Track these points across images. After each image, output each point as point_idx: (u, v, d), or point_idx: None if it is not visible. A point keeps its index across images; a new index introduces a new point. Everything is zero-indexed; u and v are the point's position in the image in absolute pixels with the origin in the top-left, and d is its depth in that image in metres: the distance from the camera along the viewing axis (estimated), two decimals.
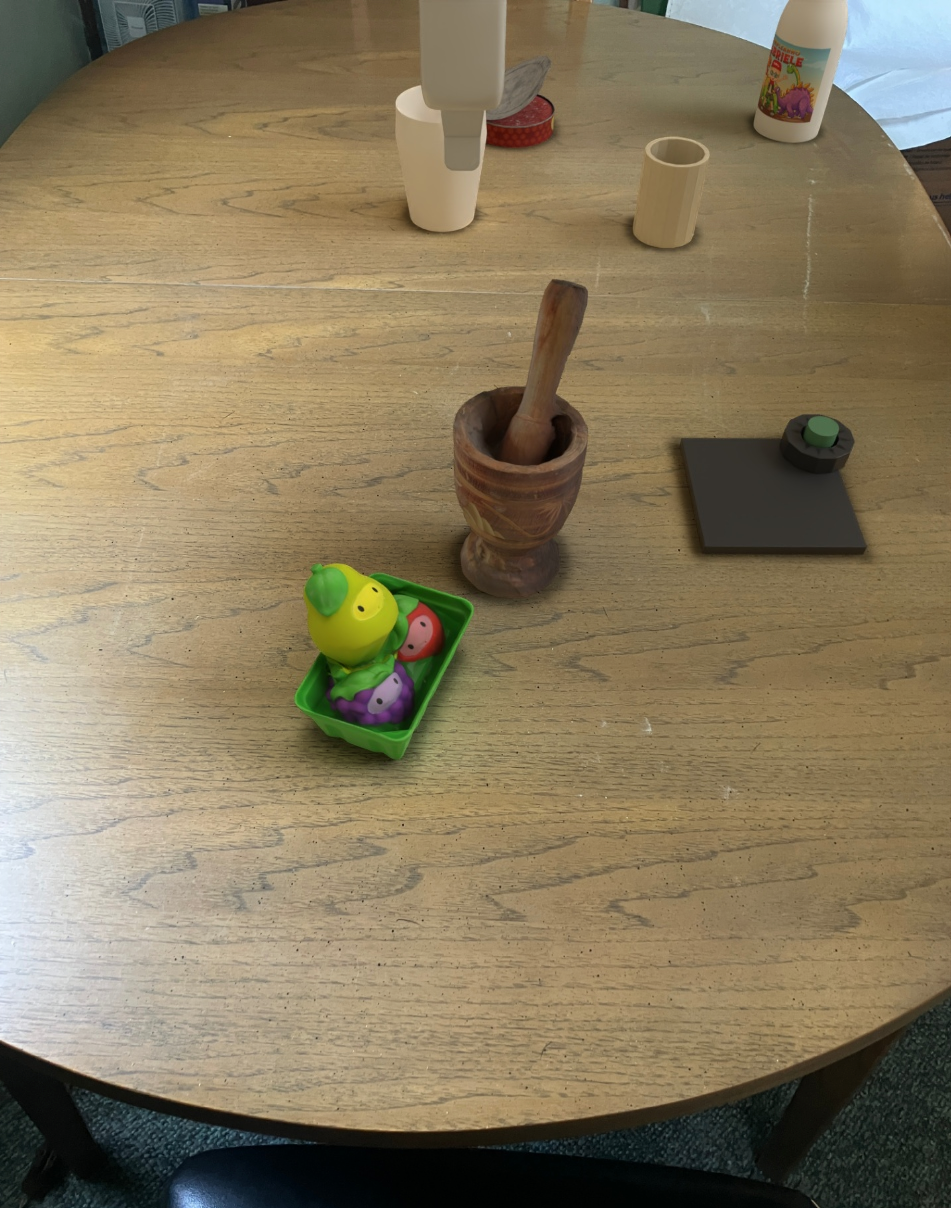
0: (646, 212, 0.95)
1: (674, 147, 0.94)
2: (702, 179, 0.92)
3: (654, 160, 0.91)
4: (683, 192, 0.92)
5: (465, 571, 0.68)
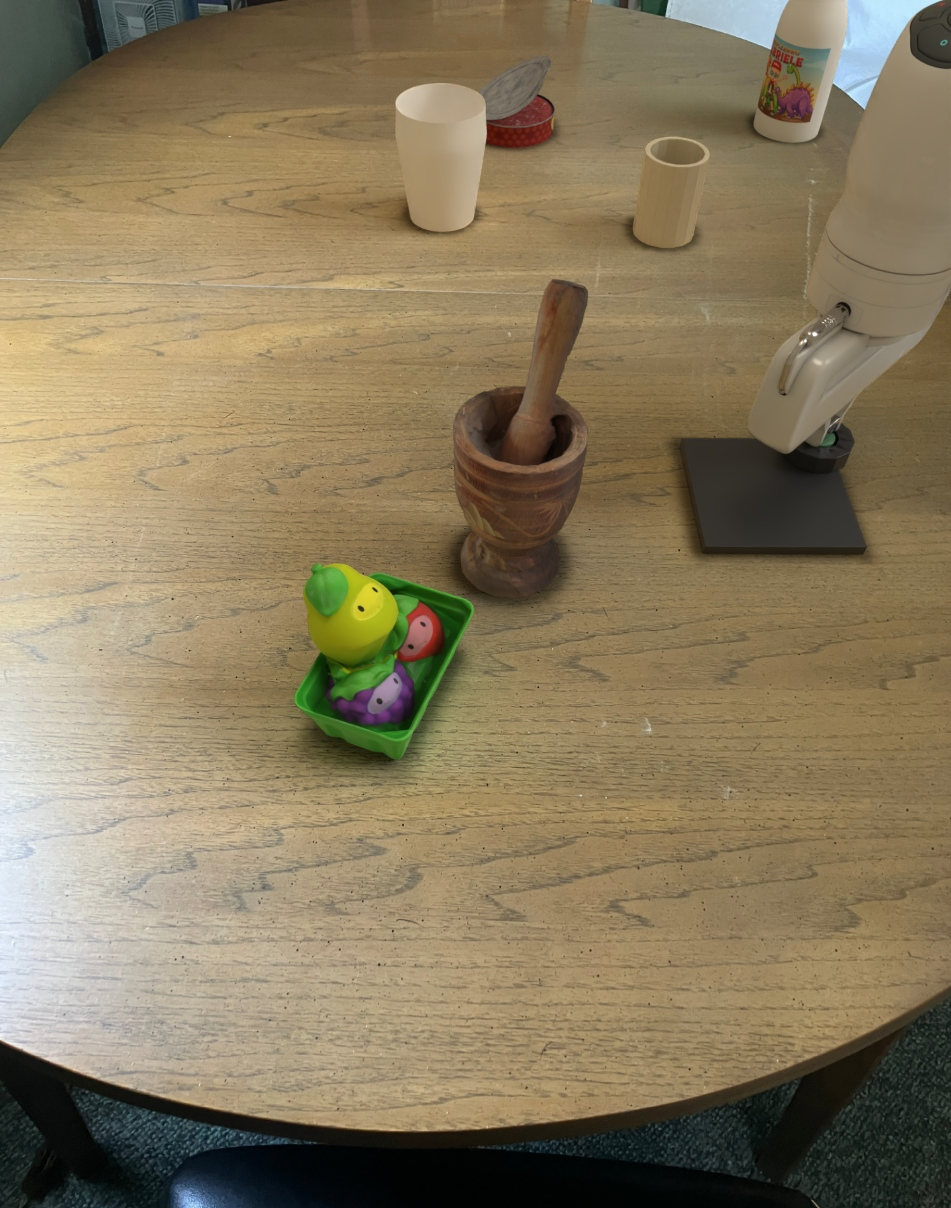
0: (646, 212, 0.95)
1: (674, 147, 0.94)
2: (702, 179, 0.92)
3: (654, 160, 0.91)
4: (683, 192, 0.92)
5: (465, 571, 0.68)
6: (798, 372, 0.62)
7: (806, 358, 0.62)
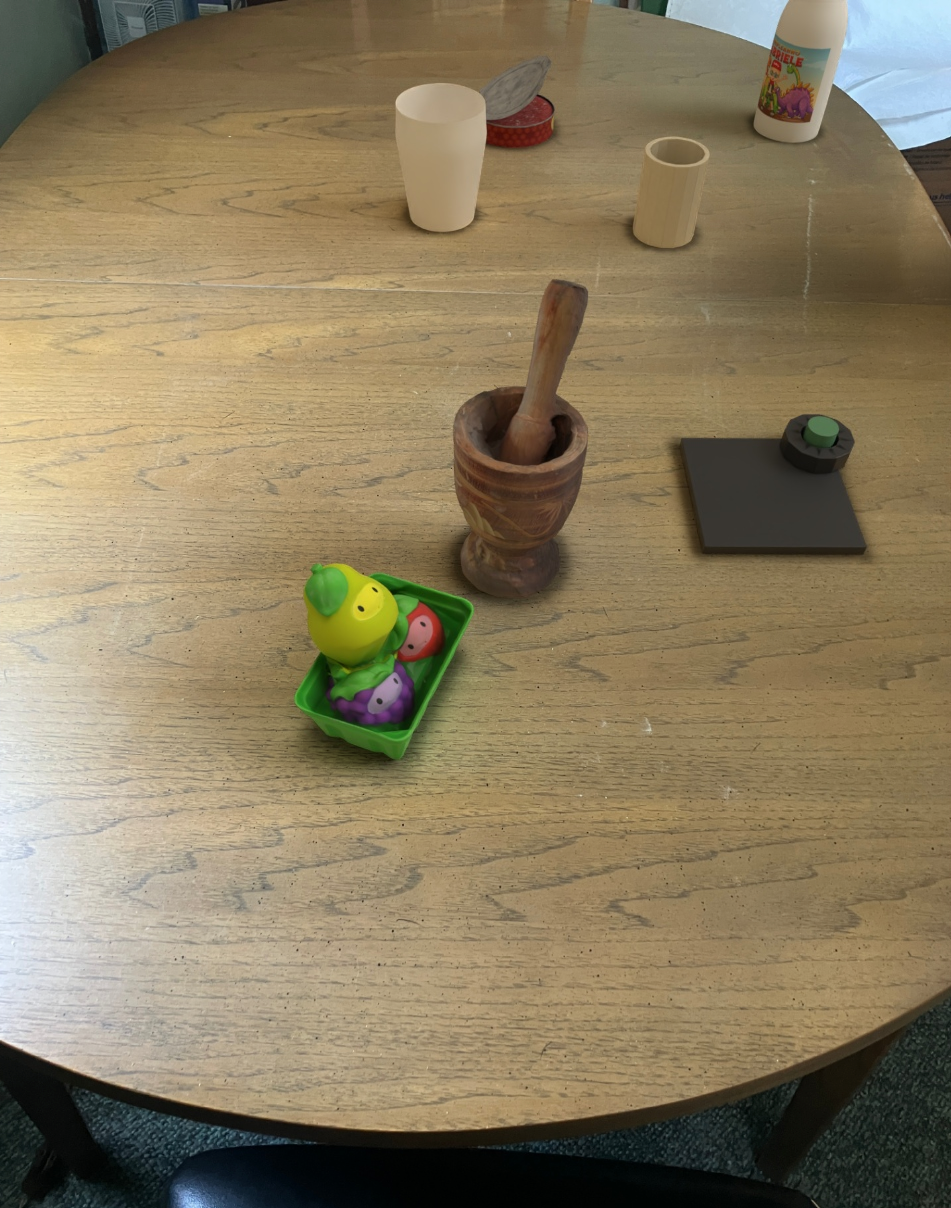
0: (646, 212, 0.95)
1: (674, 147, 0.94)
2: (702, 179, 0.92)
3: (654, 160, 0.91)
4: (683, 192, 0.92)
5: (465, 571, 0.68)
6: None
7: None
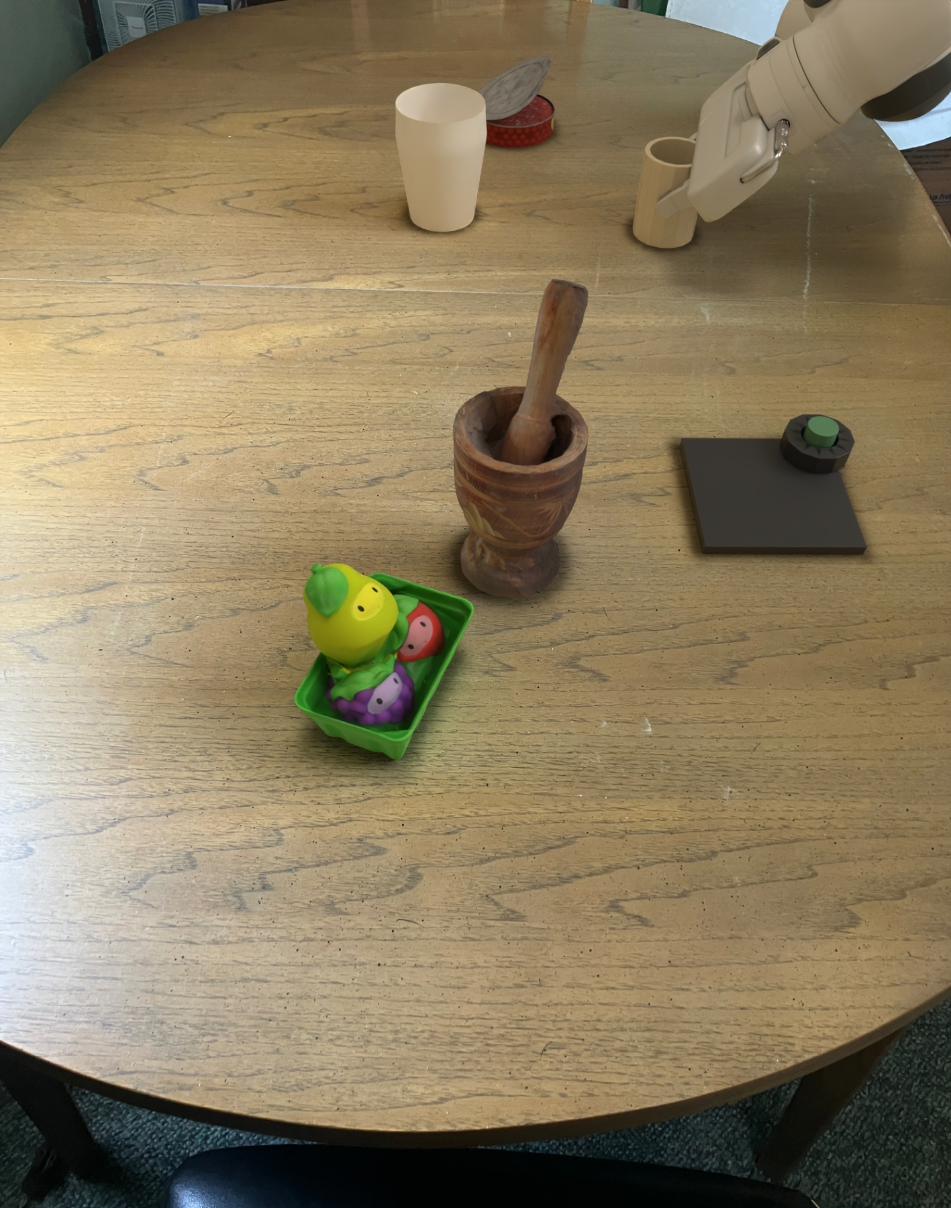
0: (646, 212, 0.95)
1: (674, 147, 0.94)
2: None
3: (654, 160, 0.91)
4: None
5: (465, 571, 0.68)
6: None
7: None
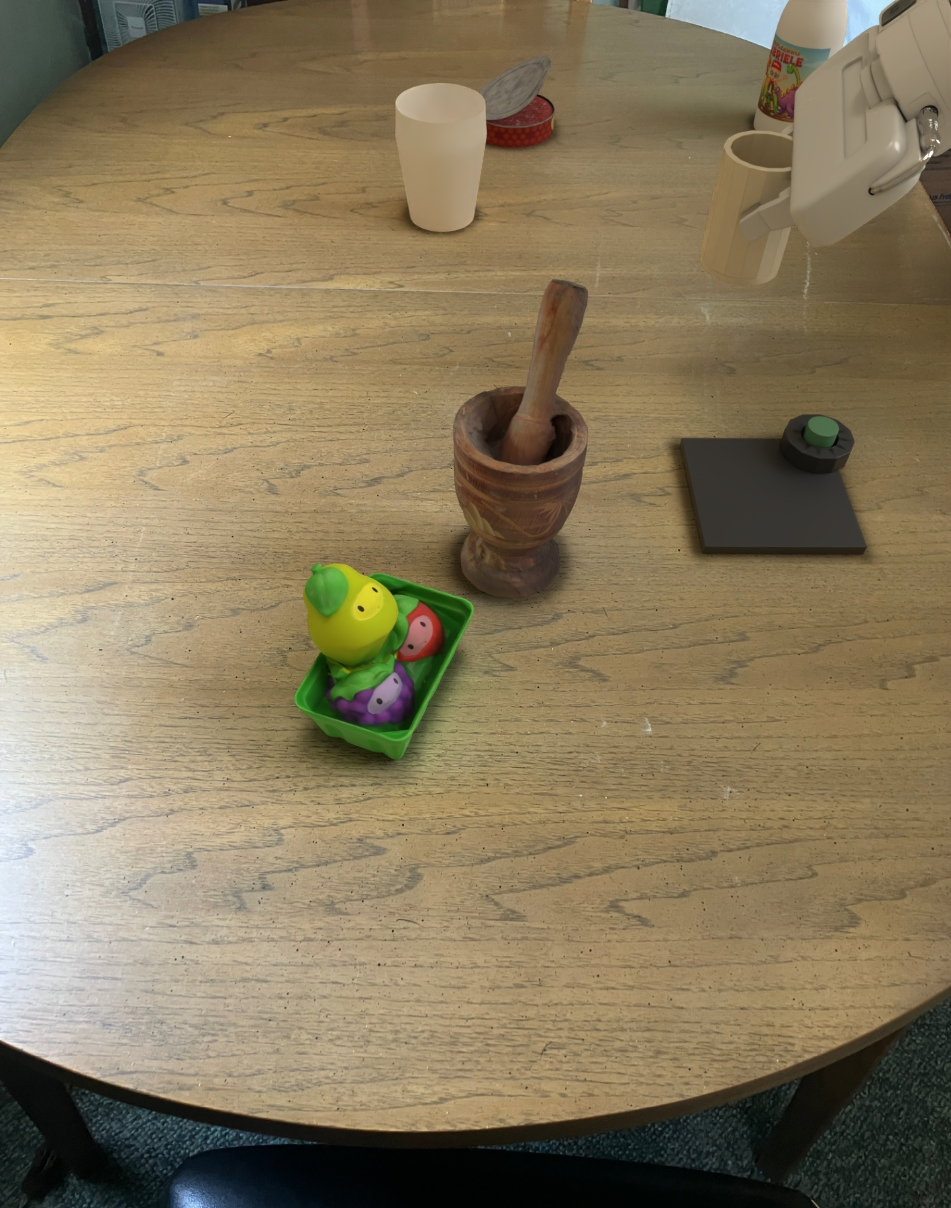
0: (722, 231, 0.71)
1: (761, 145, 0.70)
2: None
3: (738, 162, 0.67)
4: None
5: (465, 571, 0.68)
6: None
7: None
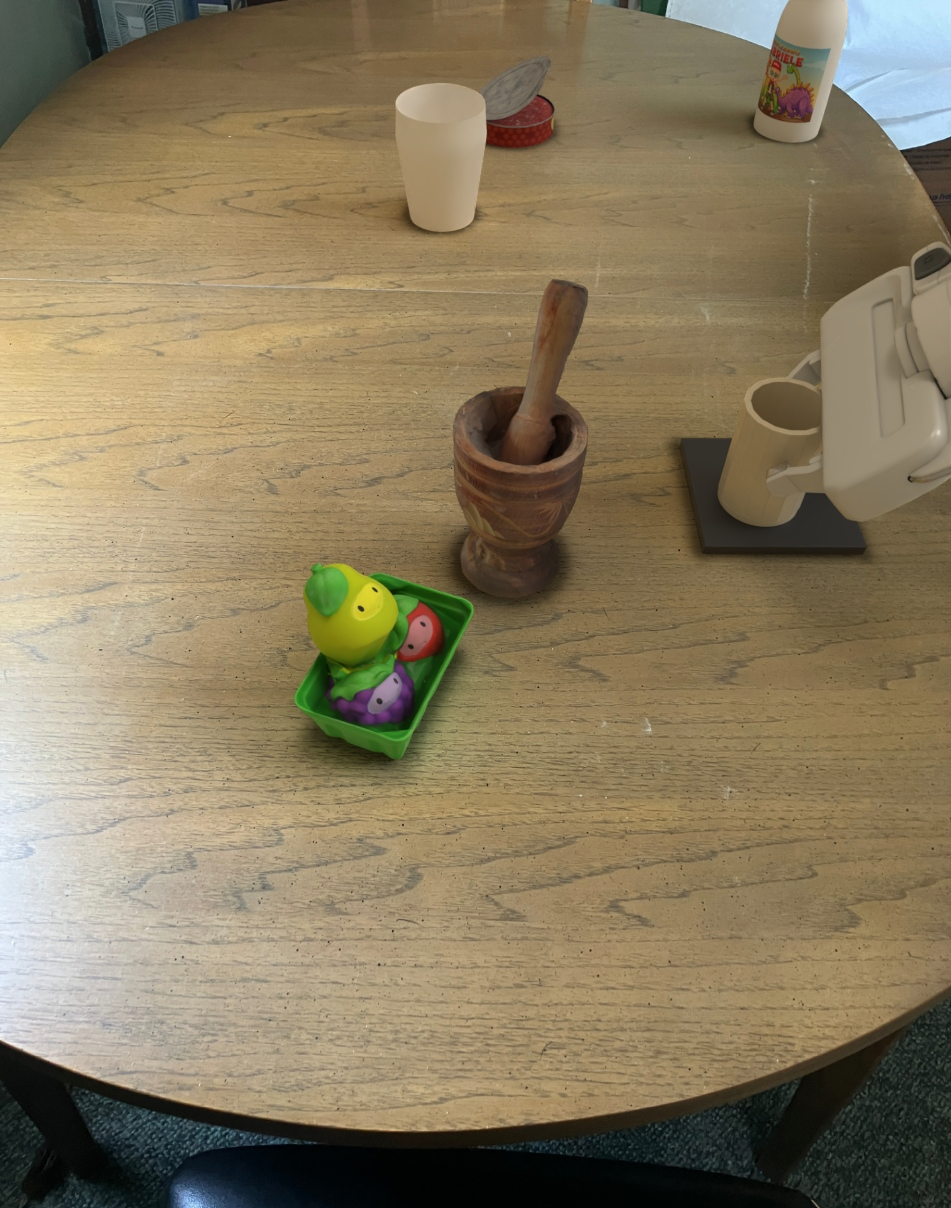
0: (742, 479, 0.69)
1: (781, 391, 0.68)
2: None
3: (759, 422, 0.65)
4: (798, 462, 0.66)
5: (465, 571, 0.68)
6: None
7: None
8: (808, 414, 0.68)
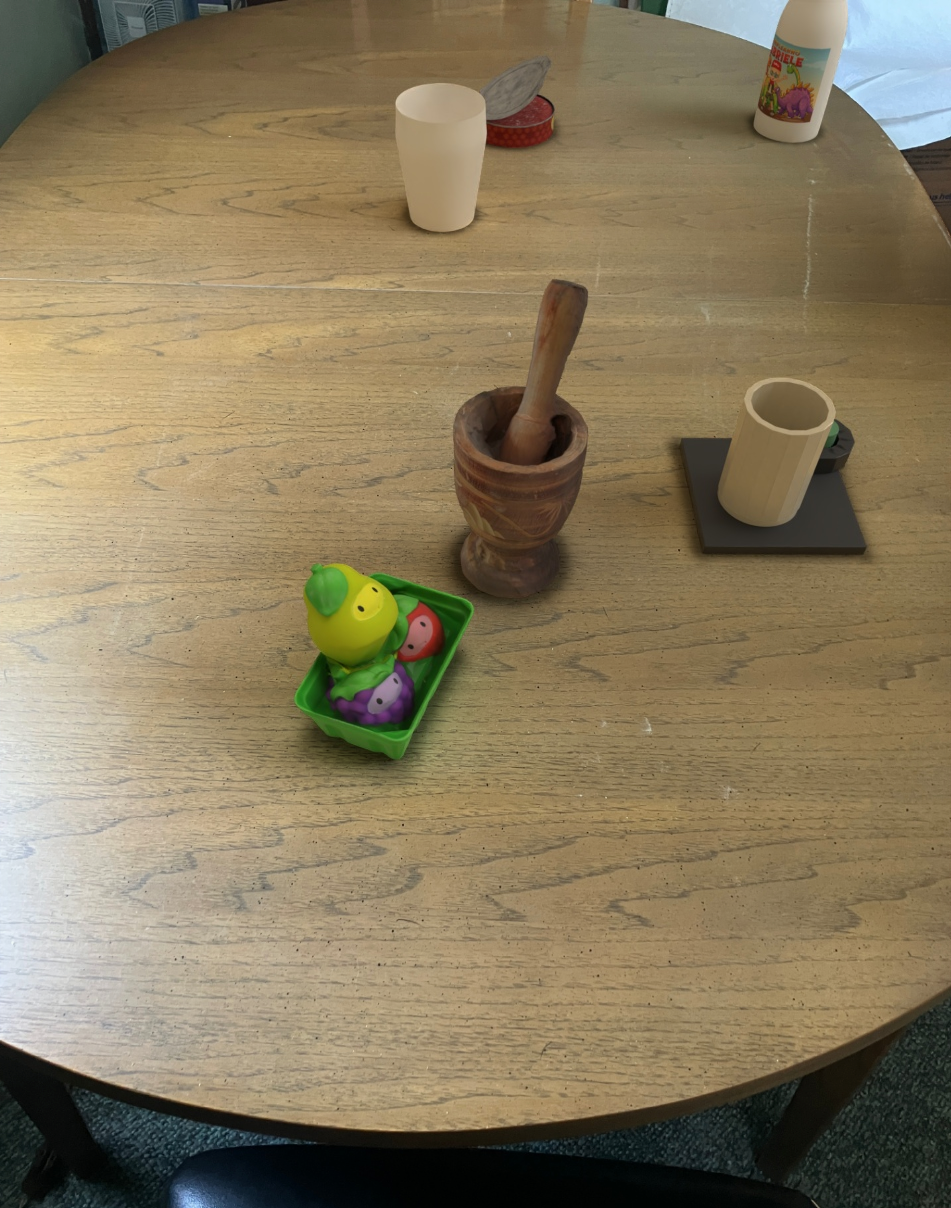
0: (742, 479, 0.69)
1: (781, 391, 0.68)
2: (824, 443, 0.66)
3: (759, 422, 0.65)
4: (798, 462, 0.66)
5: (465, 571, 0.68)
6: None
7: None
8: (808, 414, 0.68)
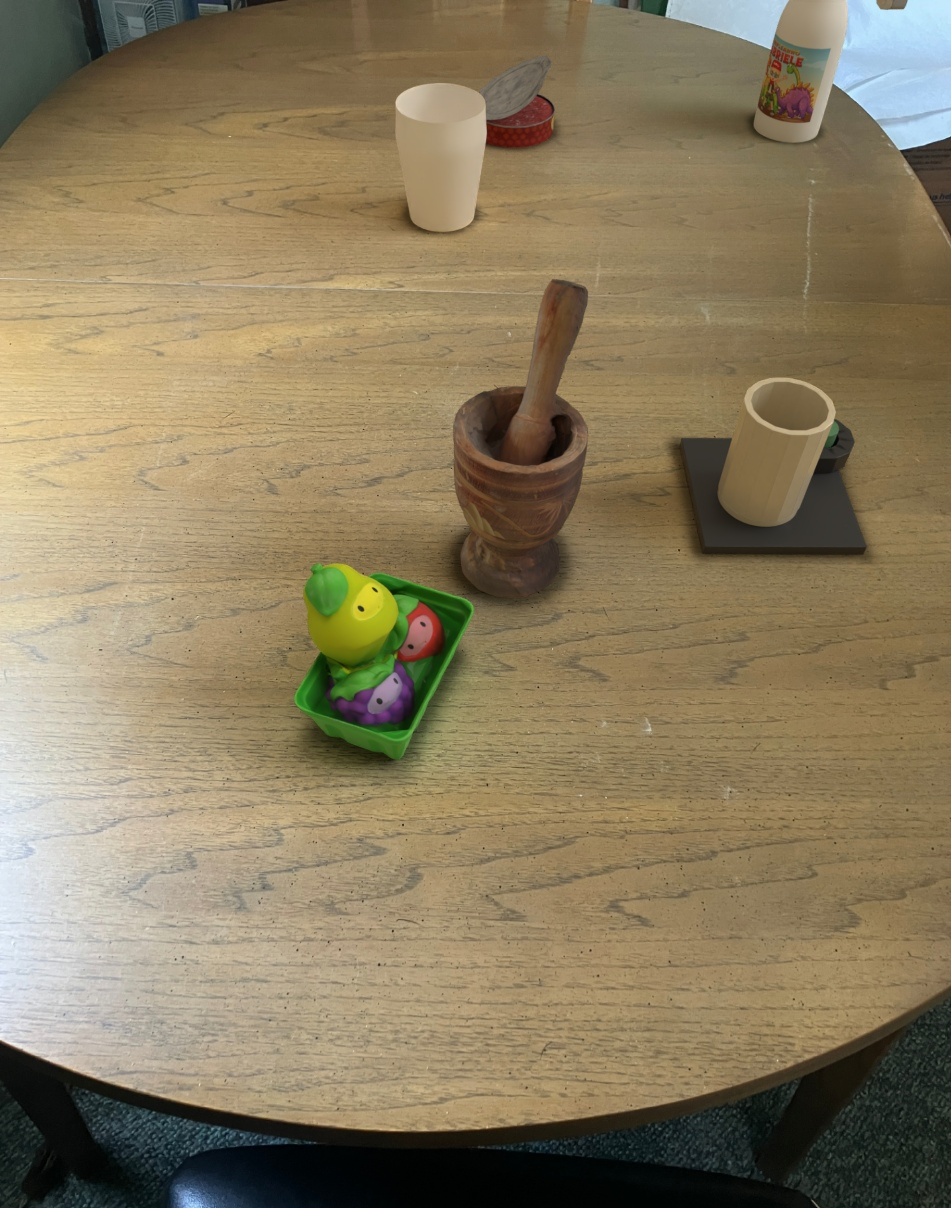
0: (742, 479, 0.69)
1: (781, 391, 0.68)
2: (824, 443, 0.66)
3: (759, 422, 0.65)
4: (798, 462, 0.66)
5: (465, 571, 0.68)
6: None
7: None
8: (808, 414, 0.68)
